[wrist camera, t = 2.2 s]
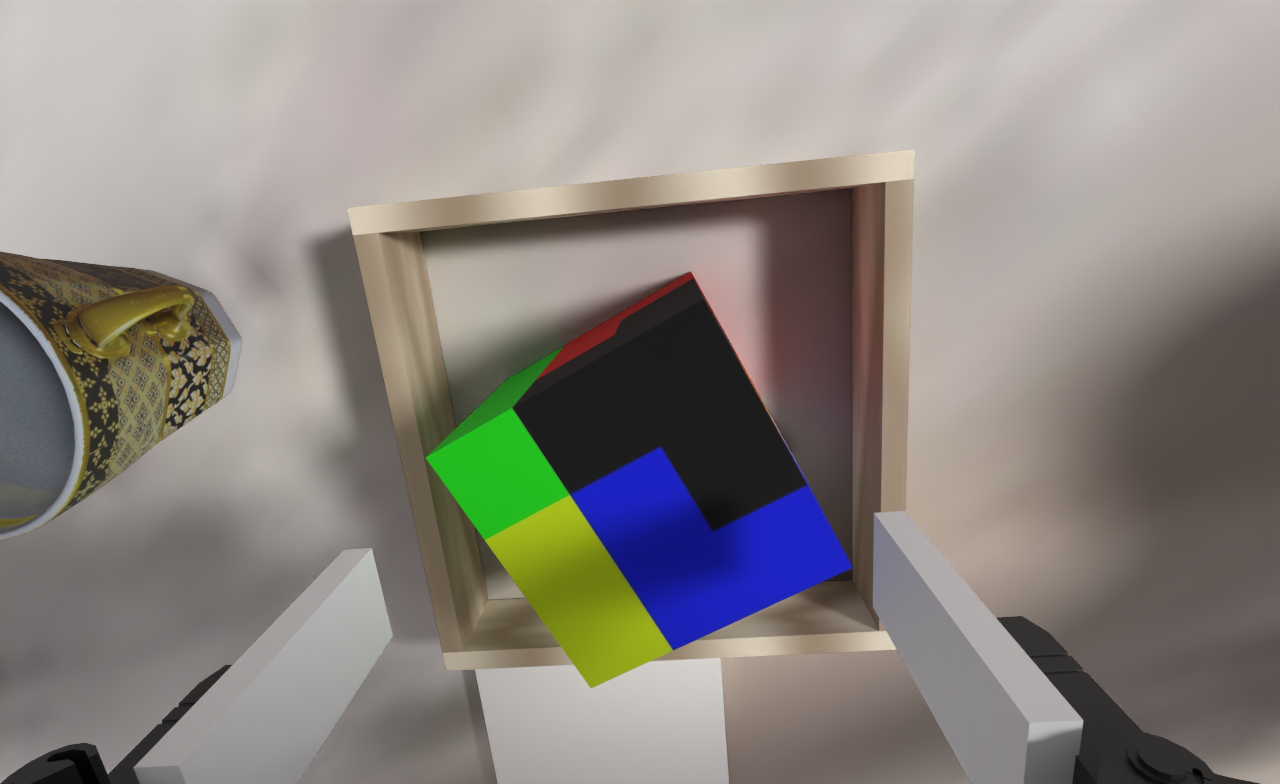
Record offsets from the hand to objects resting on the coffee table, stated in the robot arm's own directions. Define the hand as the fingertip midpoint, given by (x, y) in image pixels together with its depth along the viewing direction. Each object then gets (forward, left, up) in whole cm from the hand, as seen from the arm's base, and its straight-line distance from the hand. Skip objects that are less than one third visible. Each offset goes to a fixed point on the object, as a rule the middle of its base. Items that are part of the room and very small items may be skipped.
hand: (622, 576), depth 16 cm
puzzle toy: (0, 0, -14) cm, 14 cm away
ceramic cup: (+21, -6, -14) cm, 26 cm away
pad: (+4, +18, -14) cm, 23 cm away
